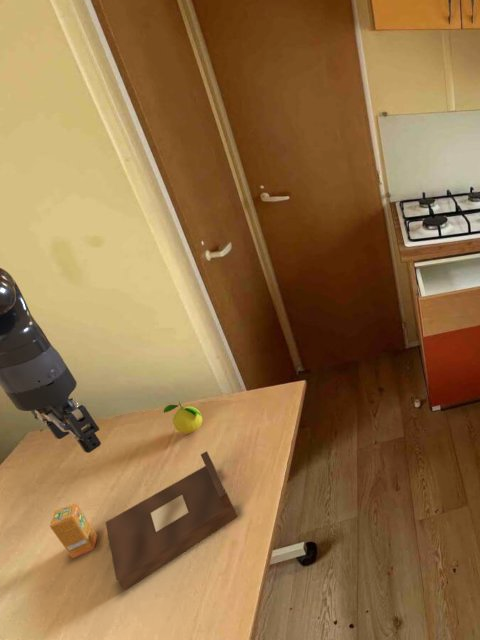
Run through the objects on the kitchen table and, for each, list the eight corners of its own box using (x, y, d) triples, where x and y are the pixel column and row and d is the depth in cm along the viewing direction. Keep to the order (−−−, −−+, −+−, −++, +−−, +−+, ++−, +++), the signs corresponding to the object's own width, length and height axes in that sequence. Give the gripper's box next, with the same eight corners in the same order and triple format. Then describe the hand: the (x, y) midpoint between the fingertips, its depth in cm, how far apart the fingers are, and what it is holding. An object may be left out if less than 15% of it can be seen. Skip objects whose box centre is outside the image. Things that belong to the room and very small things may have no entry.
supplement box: (96, 548, 81) (72, 516, 76) (72, 559, 79) (46, 527, 75) (99, 533, 83) (76, 501, 79) (76, 543, 81) (50, 512, 77)
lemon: (173, 432, 105) (158, 403, 100) (200, 417, 109) (186, 388, 105) (183, 446, 101) (168, 416, 97) (210, 430, 105) (197, 401, 101)
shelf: (125, 590, 74) (106, 566, 71) (114, 534, 83) (97, 510, 80) (237, 516, 86) (226, 493, 83) (217, 473, 95) (206, 450, 91)
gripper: (-20, 379, 70) (30, 446, 77) (30, 402, 65) (78, 470, 73) (38, 351, 76) (79, 416, 83) (87, 370, 72) (126, 437, 79)
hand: (79, 441), depth 78 cm, fingers open, 8 cm apart
